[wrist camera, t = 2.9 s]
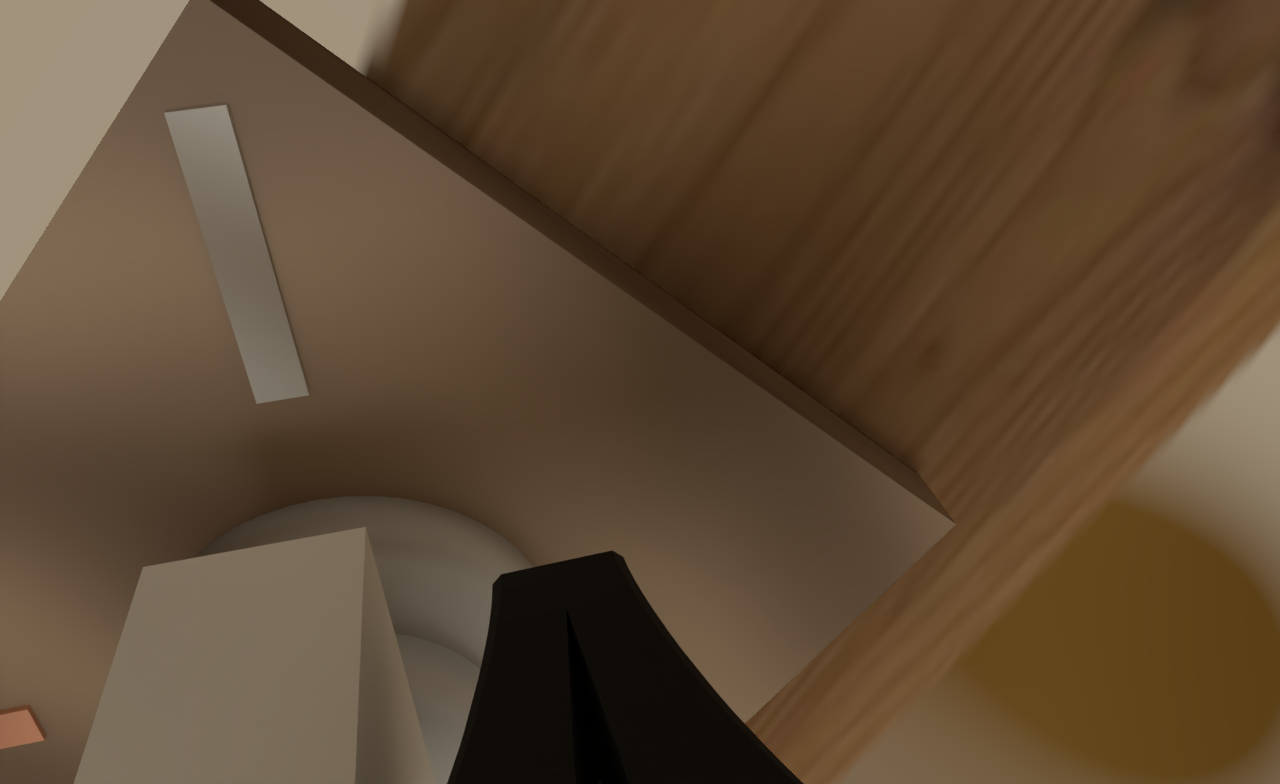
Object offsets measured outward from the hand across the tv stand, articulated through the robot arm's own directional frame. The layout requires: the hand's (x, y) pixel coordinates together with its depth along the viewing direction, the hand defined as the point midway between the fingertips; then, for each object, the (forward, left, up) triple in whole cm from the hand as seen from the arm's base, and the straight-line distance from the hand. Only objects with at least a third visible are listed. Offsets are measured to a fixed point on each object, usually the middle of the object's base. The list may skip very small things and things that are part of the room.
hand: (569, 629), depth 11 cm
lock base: (-5, 0, -6) cm, 8 cm away
